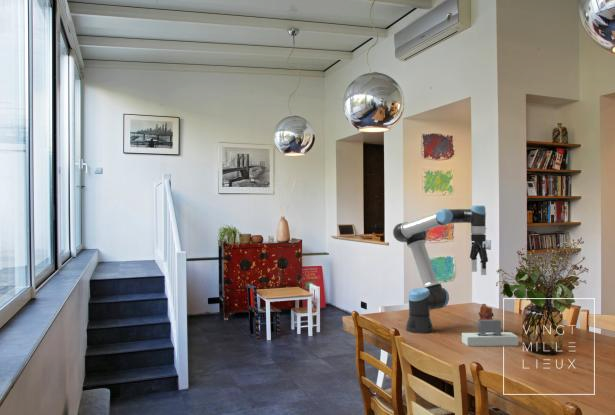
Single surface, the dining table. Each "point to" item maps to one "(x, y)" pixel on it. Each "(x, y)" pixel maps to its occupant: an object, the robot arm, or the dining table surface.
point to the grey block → (489, 327)
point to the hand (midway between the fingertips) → (478, 273)
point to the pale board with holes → (490, 339)
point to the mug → (485, 313)
